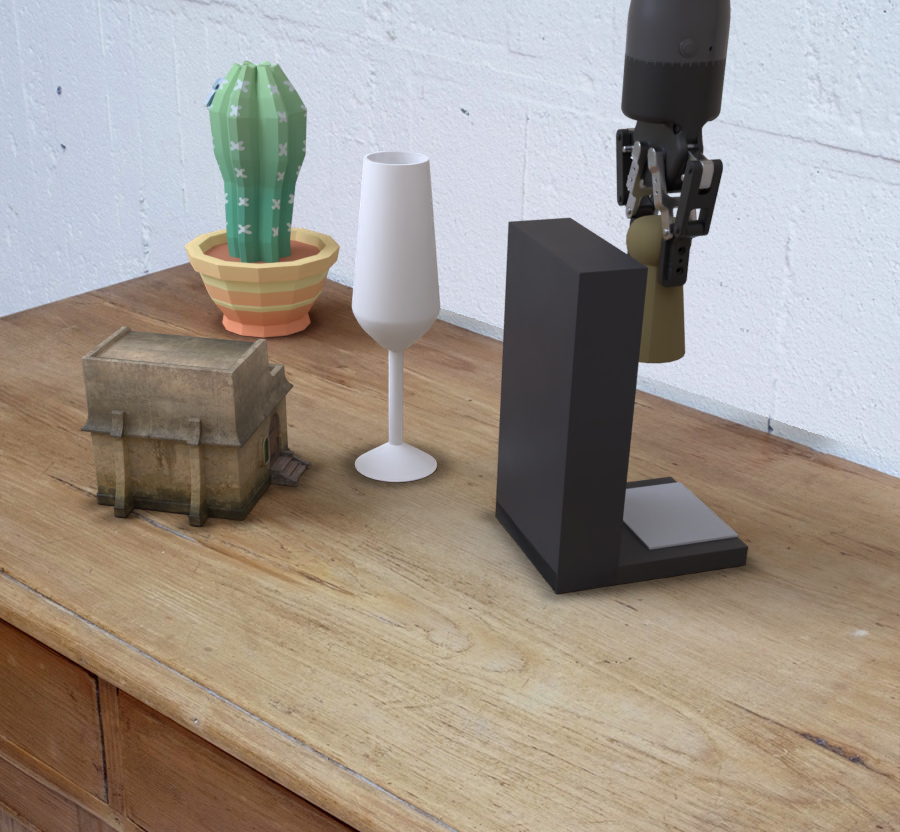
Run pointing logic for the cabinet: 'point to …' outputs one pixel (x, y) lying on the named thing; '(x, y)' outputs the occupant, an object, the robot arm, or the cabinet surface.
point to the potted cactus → (260, 207)
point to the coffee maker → (586, 422)
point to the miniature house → (187, 424)
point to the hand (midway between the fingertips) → (655, 274)
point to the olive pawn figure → (657, 296)
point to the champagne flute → (396, 288)
